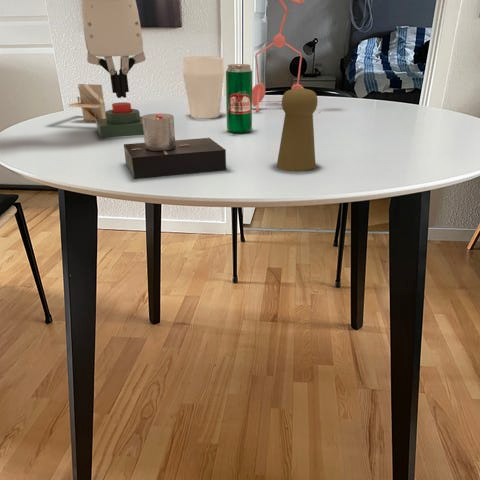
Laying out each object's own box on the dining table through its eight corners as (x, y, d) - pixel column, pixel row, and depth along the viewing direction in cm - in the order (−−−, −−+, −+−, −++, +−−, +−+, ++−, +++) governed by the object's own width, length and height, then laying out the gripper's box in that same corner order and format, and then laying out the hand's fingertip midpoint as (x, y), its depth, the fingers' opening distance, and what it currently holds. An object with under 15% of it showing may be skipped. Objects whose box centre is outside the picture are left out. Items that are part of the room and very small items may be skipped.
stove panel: (134, 178, 72) (131, 156, 71) (126, 163, 80) (123, 143, 78) (226, 170, 76) (225, 148, 74) (210, 156, 83) (209, 136, 82)
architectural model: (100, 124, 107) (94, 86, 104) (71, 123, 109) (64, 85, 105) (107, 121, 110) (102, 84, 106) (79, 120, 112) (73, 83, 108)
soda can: (226, 134, 98) (225, 66, 92) (226, 129, 102) (225, 63, 96) (252, 134, 98) (253, 66, 92) (251, 128, 103) (251, 63, 96)
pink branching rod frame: (329, 115, 116) (345, -76, 97) (223, 111, 121) (219, -71, 103) (335, 104, 128) (350, -66, 110) (238, 101, 134) (237, -62, 115)
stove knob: (142, 145, 77) (139, 112, 74) (172, 143, 78) (169, 110, 76) (148, 152, 73) (144, 117, 71) (178, 149, 74) (176, 115, 72)
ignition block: (101, 138, 96) (98, 116, 93) (97, 130, 102) (94, 109, 100) (152, 134, 98) (150, 113, 96) (146, 127, 105) (144, 106, 103)
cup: (210, 111, 121) (208, 55, 114) (232, 117, 114) (231, 58, 108) (178, 115, 116) (174, 57, 110) (199, 121, 110) (196, 60, 103)
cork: (323, 167, 77) (329, 89, 71) (291, 173, 74) (295, 93, 69) (300, 159, 81) (304, 85, 76) (269, 164, 79) (271, 88, 73)
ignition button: (114, 115, 96) (112, 105, 95) (112, 112, 99) (110, 102, 98) (132, 114, 97) (131, 104, 96) (130, 111, 100) (129, 101, 99)
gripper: (146, -16, 92) (155, 92, 102) (61, -16, 88) (80, 96, 98) (153, -18, 86) (163, 97, 96) (63, -18, 82) (82, 102, 92)
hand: (121, 96), depth 97 cm, fingers closed
